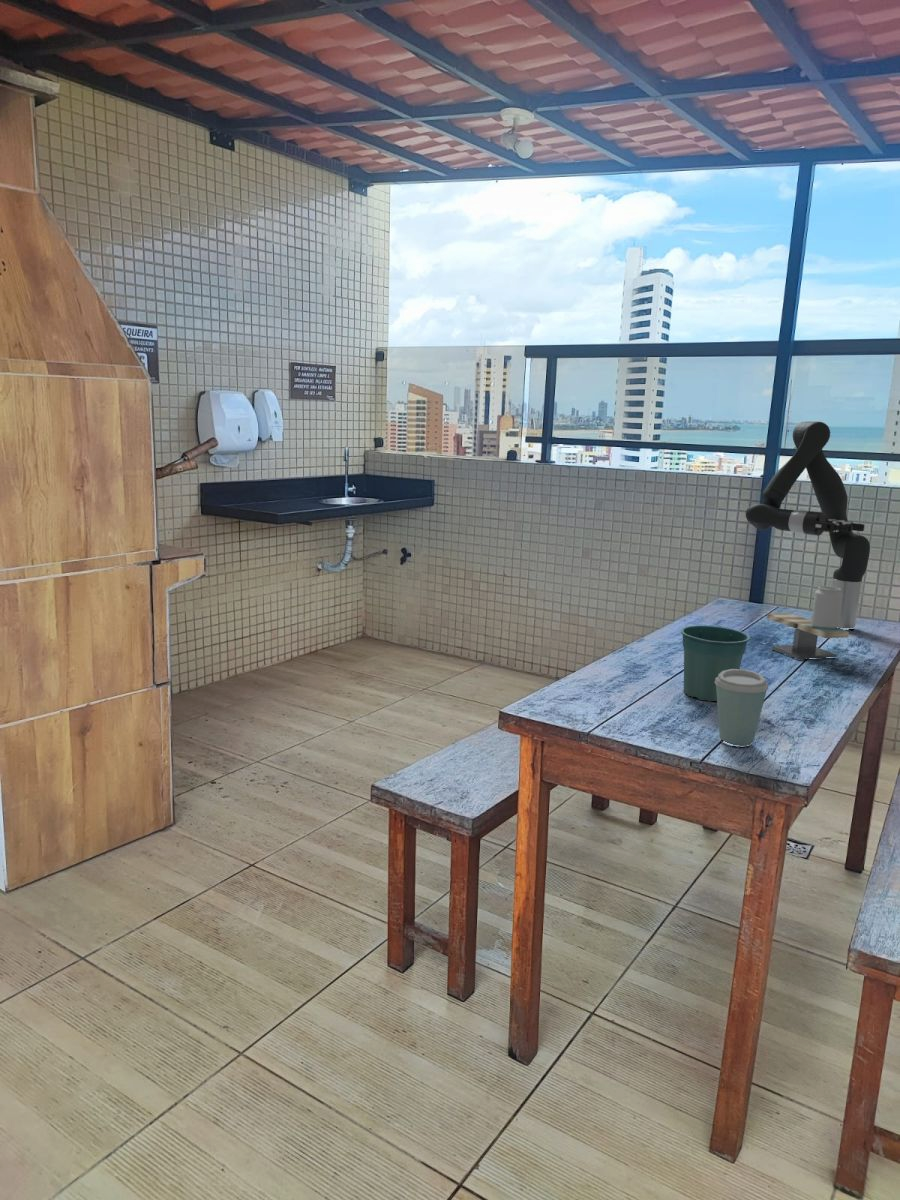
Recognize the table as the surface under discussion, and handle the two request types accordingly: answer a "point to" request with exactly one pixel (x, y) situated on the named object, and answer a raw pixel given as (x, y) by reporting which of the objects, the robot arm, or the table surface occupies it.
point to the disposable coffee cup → (739, 704)
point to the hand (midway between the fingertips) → (858, 528)
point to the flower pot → (710, 657)
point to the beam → (806, 625)
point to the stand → (804, 647)
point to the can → (827, 608)
